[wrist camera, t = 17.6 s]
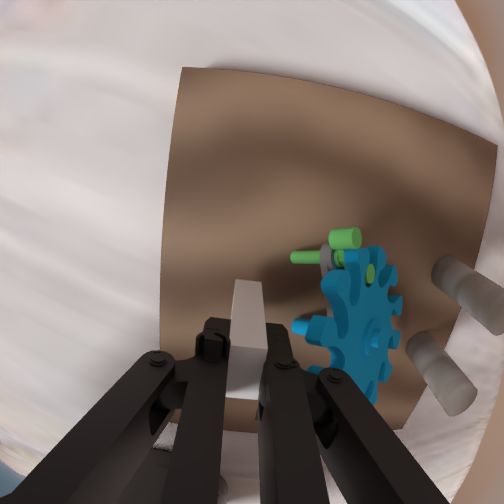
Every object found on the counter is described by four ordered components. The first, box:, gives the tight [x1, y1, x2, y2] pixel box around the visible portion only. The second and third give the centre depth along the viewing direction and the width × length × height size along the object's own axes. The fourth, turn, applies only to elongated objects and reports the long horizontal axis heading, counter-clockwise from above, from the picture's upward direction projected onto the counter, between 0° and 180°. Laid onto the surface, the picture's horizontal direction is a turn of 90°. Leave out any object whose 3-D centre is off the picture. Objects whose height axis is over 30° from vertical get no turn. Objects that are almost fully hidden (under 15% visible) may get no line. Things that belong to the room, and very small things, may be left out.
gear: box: [290, 227, 402, 406], centre depth 17 cm, size 11×6×10 cm
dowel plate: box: [160, 67, 504, 433], centre depth 17 cm, size 26×22×9 cm
